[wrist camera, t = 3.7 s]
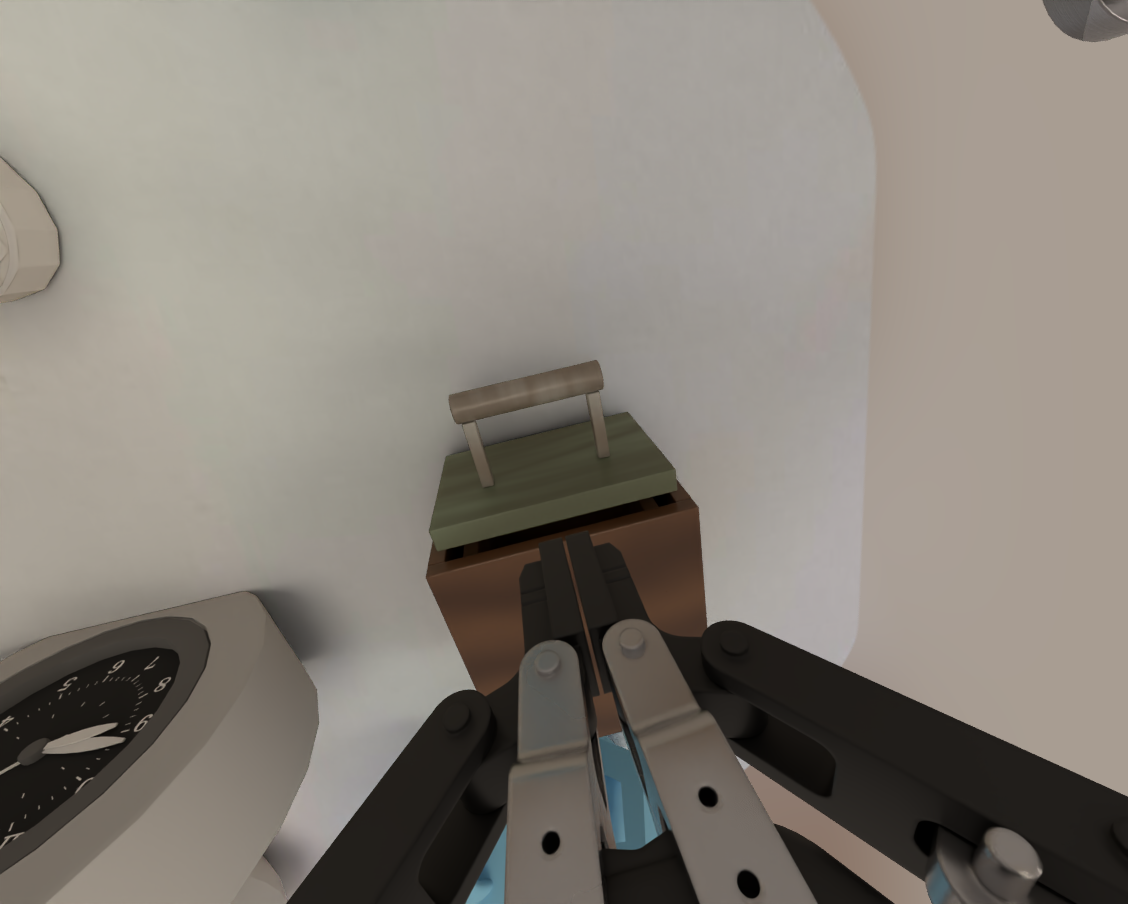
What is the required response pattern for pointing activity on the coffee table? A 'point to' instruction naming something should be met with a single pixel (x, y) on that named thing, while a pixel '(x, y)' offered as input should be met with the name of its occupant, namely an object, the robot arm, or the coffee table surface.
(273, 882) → the vase
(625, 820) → the teapot
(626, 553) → the cabinet
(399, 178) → the coffee table surface
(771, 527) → the coffee table surface
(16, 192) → the white cup
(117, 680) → the alarm clock
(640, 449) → the drawer
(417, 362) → the coffee table surface
